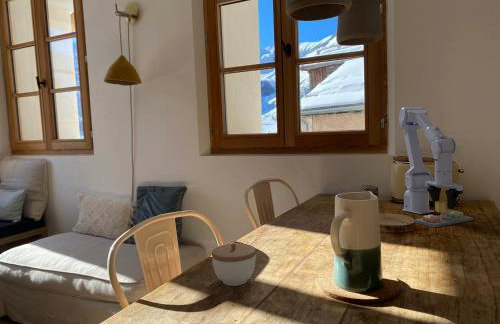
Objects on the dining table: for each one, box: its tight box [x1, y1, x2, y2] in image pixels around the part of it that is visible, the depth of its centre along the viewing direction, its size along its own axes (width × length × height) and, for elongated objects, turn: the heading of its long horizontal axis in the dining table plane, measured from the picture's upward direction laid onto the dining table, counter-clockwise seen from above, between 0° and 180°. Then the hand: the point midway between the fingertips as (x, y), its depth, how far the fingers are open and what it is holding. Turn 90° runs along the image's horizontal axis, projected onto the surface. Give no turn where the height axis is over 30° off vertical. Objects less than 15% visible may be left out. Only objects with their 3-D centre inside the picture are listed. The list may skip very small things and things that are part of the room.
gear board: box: [413, 210, 474, 228], centre depth 138 cm, size 9×20×3 cm, turn 113°
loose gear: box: [434, 200, 453, 214], centre depth 138 cm, size 6×6×4 cm
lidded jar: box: [211, 242, 257, 287], centre depth 91 cm, size 11×11×9 cm
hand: (443, 207), depth 138 cm, fingers closed on loose gear, 6 cm apart
